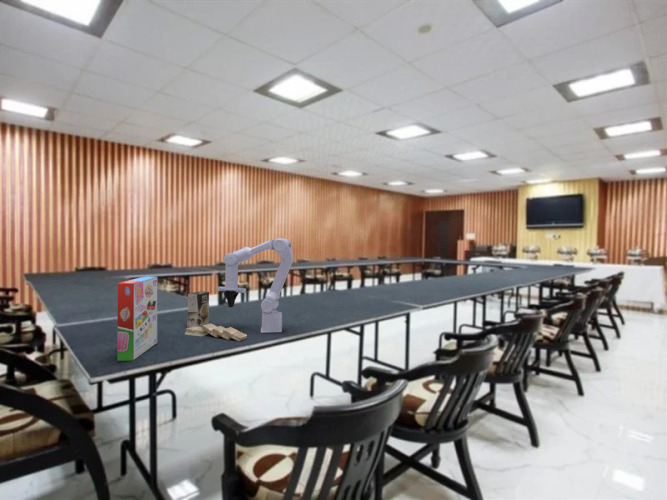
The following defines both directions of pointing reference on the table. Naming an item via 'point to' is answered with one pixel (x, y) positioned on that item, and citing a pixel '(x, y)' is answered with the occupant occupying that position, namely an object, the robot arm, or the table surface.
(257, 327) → the table surface
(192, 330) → the domino
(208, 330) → the domino
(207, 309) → the coffee box
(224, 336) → the domino
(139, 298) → the game box
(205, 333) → the domino
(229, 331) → the domino
